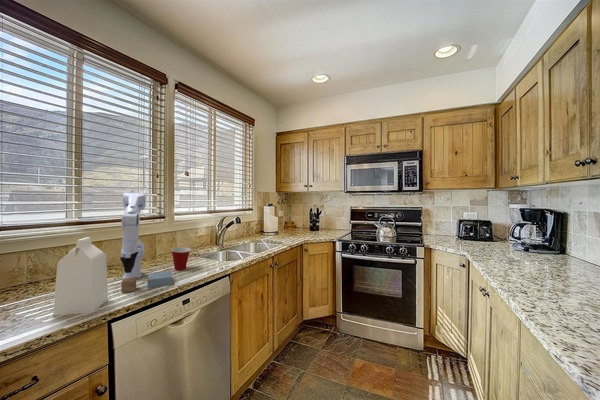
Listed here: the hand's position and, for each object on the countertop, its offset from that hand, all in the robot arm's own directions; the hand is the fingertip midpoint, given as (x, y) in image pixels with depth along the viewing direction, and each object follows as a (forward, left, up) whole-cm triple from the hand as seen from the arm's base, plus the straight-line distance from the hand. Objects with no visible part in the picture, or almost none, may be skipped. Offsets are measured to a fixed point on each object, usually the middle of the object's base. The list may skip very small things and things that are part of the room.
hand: (129, 270), depth 111 cm
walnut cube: (0, 0, -9) cm, 9 cm away
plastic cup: (-26, +22, -9) cm, 35 cm away
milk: (+13, -13, -9) cm, 20 cm away
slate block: (-5, +12, -9) cm, 16 cm away
